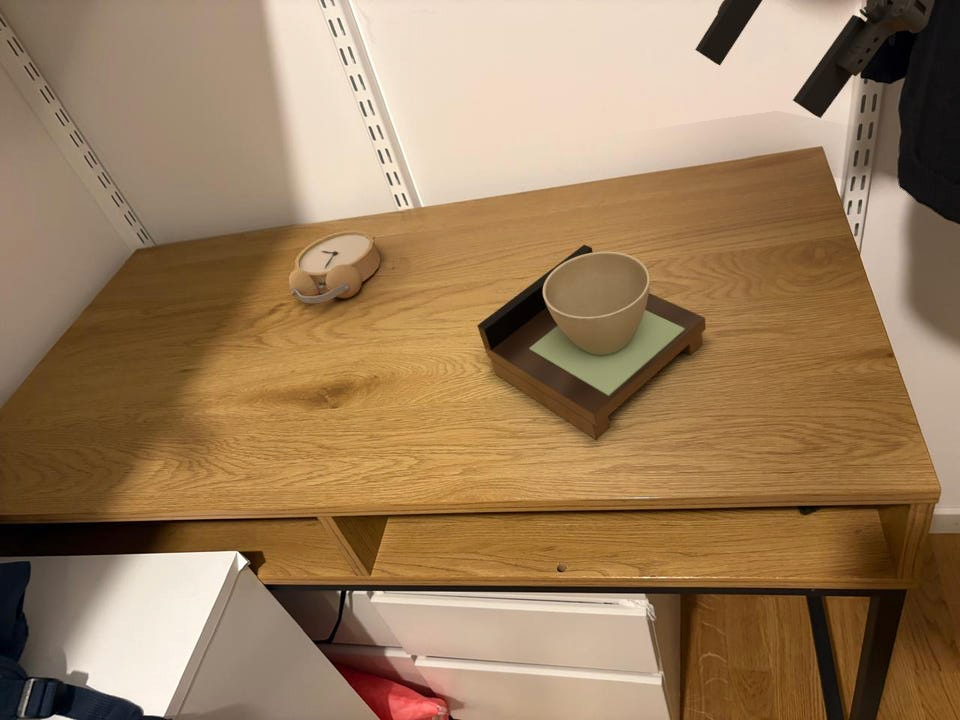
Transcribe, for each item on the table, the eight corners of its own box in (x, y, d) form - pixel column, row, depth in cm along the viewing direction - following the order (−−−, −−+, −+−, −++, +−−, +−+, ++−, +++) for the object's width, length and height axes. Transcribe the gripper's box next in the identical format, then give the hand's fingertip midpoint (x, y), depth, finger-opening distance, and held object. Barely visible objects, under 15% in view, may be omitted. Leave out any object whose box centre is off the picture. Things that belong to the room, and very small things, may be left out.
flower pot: (631, 383, 69) (622, 326, 64) (538, 361, 74) (524, 307, 70) (671, 314, 74) (665, 257, 70) (582, 298, 80) (571, 244, 75)
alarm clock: (384, 225, 104) (345, 276, 92) (393, 257, 106) (357, 310, 95) (313, 233, 107) (266, 283, 95) (324, 264, 110) (280, 316, 98)
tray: (707, 346, 76) (703, 294, 71) (600, 442, 70) (589, 392, 66) (593, 293, 87) (584, 244, 82) (492, 372, 81) (476, 325, 77)
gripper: (1140, -161, 44) (889, 157, 53) (852, -179, 63) (701, 58, 71) (1091, -244, 40) (828, 115, 49) (799, -237, 59) (646, 21, 67)
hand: (752, 81), depth 60 cm, fingers open, 13 cm apart
